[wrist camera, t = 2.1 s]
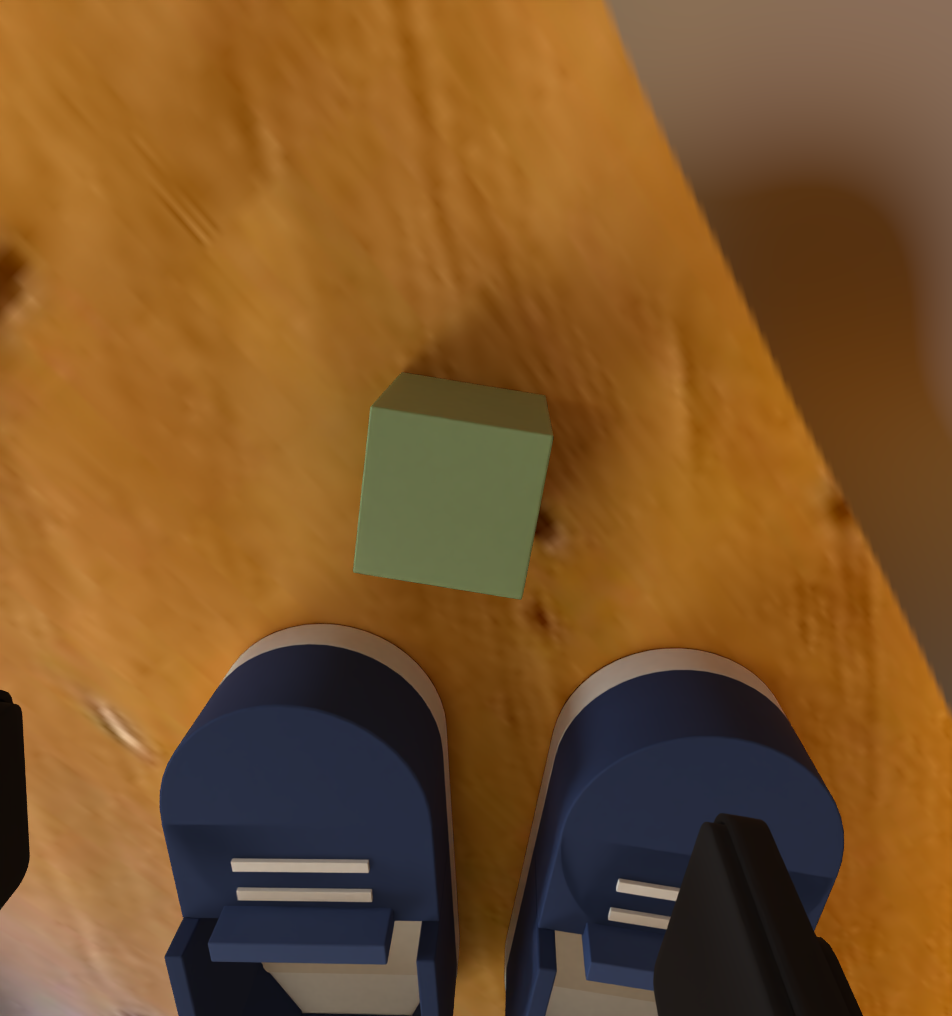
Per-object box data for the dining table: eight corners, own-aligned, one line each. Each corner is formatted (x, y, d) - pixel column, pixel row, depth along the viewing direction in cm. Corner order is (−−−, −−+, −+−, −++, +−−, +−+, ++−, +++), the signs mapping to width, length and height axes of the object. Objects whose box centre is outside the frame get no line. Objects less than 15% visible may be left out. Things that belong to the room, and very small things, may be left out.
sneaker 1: (201, 624, 27) (99, 747, 20) (440, 621, 26) (414, 746, 20) (271, 1004, 33) (211, 1192, 26) (464, 1009, 32) (451, 1200, 26)
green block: (401, 371, 23) (370, 405, 18) (546, 395, 23) (554, 435, 18) (384, 508, 25) (352, 573, 20) (520, 530, 25) (521, 600, 20)
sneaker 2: (575, 629, 26) (595, 758, 19) (818, 668, 26) (919, 810, 19) (489, 1009, 32) (483, 1201, 26) (684, 1040, 32) (726, 1241, 26)
